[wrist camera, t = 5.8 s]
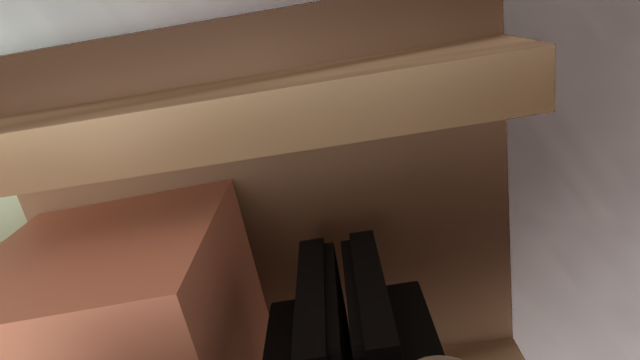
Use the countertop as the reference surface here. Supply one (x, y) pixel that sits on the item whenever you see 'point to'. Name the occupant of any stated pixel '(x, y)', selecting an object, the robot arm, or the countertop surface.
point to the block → (134, 281)
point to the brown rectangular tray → (301, 138)
